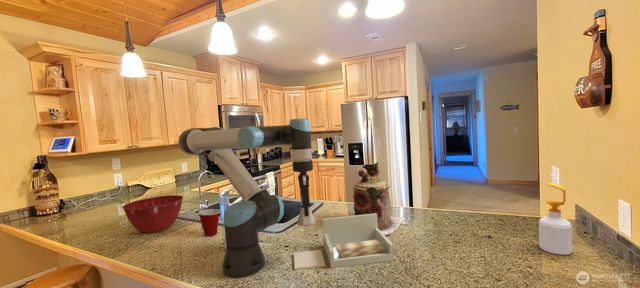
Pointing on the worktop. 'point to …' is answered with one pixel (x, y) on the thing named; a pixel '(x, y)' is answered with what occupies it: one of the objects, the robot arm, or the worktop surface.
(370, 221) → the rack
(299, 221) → the flask
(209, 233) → the plastic cup
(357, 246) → the light brown wooden block
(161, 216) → the mixing bowl
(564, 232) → the soap bottle
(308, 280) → the worktop surface
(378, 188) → the cookie jar
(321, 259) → the mat
